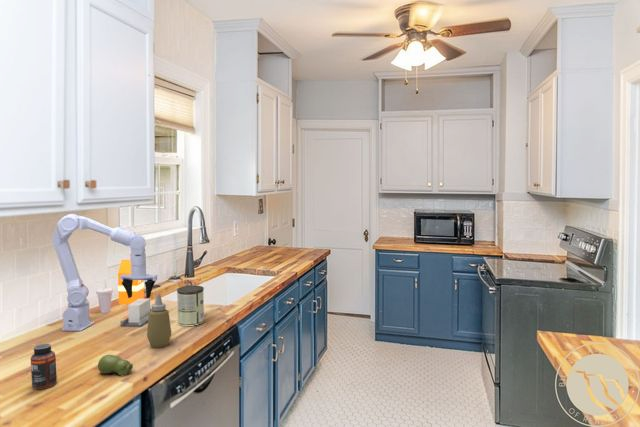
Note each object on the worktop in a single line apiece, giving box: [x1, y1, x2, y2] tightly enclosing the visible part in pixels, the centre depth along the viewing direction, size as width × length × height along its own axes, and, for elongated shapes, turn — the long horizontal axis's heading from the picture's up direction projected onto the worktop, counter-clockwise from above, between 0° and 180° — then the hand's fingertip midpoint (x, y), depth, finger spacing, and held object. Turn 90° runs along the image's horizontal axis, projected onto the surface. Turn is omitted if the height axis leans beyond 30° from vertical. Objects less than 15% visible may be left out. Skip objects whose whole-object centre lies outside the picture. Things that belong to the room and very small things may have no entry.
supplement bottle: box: [30, 343, 58, 390], centre depth 122 cm, size 6×6×11 cm
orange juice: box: [117, 259, 145, 305], centre depth 205 cm, size 8×9×20 cm
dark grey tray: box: [119, 308, 152, 328], centre depth 180 cm, size 16×8×2 cm, turn 178°
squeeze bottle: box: [146, 293, 172, 348], centre depth 152 cm, size 8×8×18 cm
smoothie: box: [95, 279, 114, 314], centre depth 190 cm, size 6×6×14 cm
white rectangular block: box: [127, 298, 151, 323], centre depth 179 cm, size 10×4×7 cm, turn 177°
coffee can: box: [176, 285, 205, 327], centre depth 176 cm, size 10×10×14 cm
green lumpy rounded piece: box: [97, 354, 134, 376], centre depth 131 cm, size 6×5×10 cm
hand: (139, 297), depth 179 cm, fingers open, 7 cm apart
